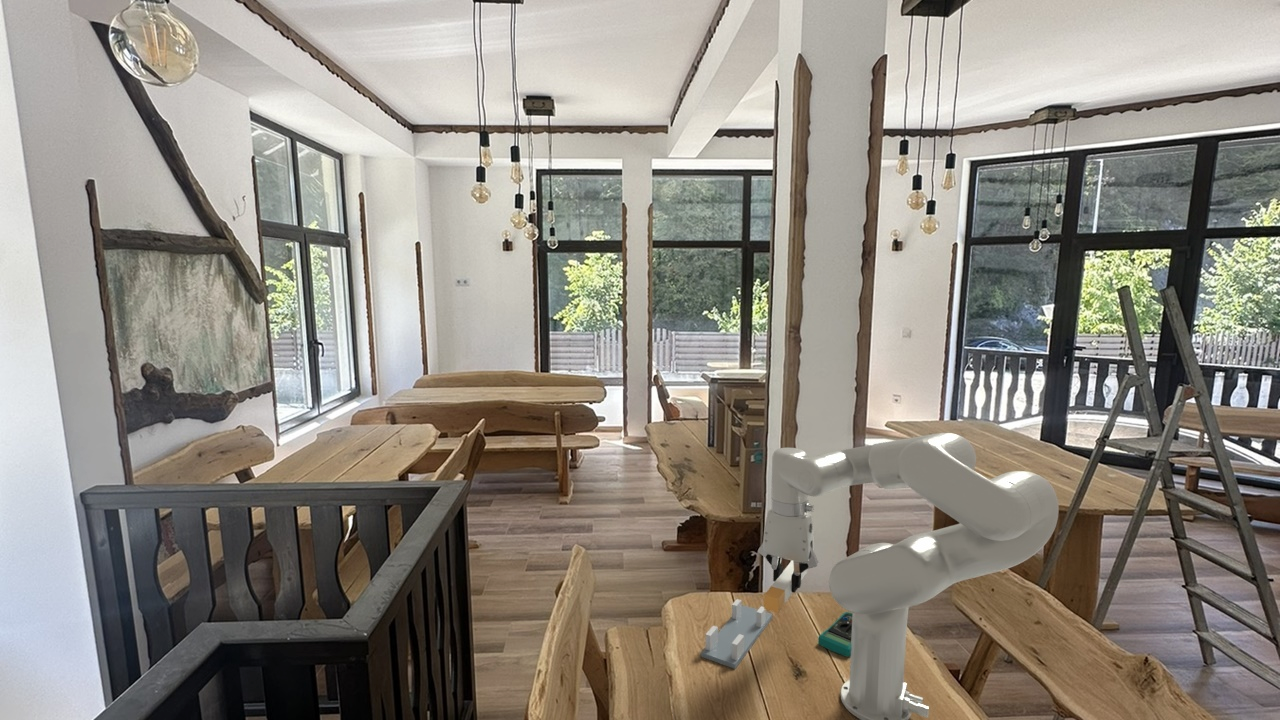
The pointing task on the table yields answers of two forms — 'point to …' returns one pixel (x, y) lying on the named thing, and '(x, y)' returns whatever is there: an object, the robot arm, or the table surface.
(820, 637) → the digital multimeter
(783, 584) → the bar
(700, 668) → the table surface
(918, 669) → the table surface
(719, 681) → the table surface
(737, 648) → the grey peg holder base
